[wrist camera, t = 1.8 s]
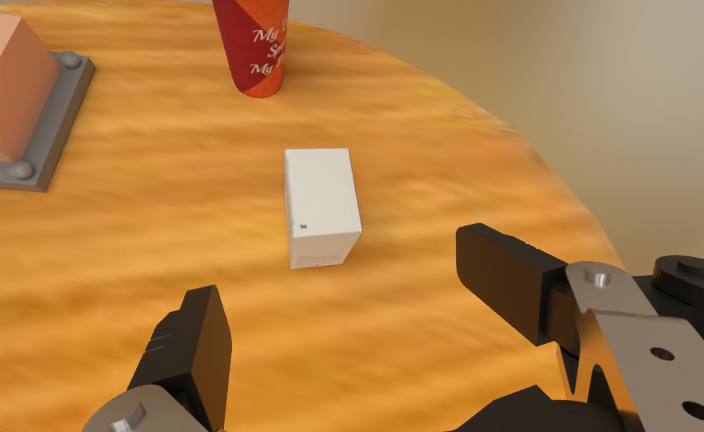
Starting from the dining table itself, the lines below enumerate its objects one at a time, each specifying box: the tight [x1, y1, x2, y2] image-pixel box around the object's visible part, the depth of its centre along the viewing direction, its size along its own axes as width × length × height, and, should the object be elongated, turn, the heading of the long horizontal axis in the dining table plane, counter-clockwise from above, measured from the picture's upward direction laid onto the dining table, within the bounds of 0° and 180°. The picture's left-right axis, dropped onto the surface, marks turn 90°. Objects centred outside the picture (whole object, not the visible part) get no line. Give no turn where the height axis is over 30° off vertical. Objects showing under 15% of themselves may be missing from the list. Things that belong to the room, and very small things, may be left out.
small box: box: [284, 148, 363, 269], centre depth 31 cm, size 8×6×10 cm
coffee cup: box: [212, 0, 289, 98], centre depth 35 cm, size 8×8×15 cm
